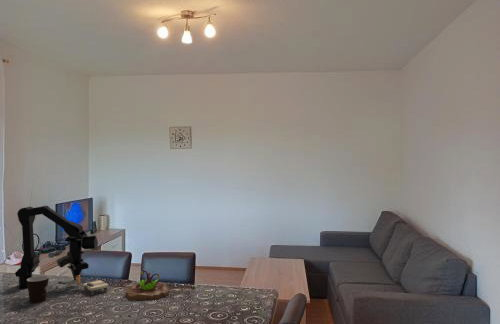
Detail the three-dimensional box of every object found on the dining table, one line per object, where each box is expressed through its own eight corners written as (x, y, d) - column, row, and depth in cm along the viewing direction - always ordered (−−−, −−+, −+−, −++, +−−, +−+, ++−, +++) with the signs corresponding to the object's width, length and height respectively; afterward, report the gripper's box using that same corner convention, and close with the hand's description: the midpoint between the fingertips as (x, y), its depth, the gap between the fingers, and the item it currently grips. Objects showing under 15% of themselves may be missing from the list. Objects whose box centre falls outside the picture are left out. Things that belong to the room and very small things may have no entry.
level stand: (69, 290, 177) (69, 280, 177) (95, 284, 186) (95, 275, 186) (80, 298, 166) (80, 287, 166) (108, 291, 175) (108, 281, 175)
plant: (126, 289, 180) (126, 266, 180) (166, 285, 186) (166, 263, 186) (124, 303, 161) (124, 278, 161) (170, 298, 167) (170, 274, 167)
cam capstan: (55, 293, 172) (55, 281, 172) (51, 290, 177) (51, 278, 177) (82, 286, 181) (82, 275, 181) (77, 284, 185) (77, 273, 185)
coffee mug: (38, 305, 159) (38, 282, 159) (21, 303, 160) (22, 280, 161) (57, 295, 170) (58, 274, 170) (41, 294, 172) (42, 273, 172)
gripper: (52, 249, 186) (52, 279, 186) (65, 255, 173) (65, 288, 173) (74, 245, 194) (74, 275, 194) (88, 251, 181) (89, 283, 181)
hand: (75, 280), depth 185 cm, fingers closed
